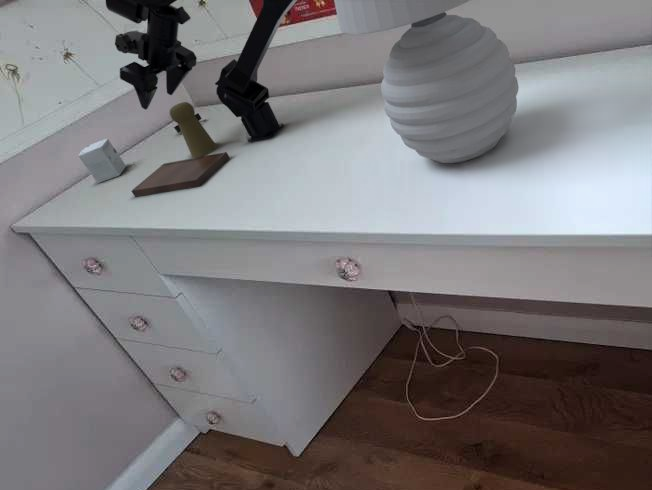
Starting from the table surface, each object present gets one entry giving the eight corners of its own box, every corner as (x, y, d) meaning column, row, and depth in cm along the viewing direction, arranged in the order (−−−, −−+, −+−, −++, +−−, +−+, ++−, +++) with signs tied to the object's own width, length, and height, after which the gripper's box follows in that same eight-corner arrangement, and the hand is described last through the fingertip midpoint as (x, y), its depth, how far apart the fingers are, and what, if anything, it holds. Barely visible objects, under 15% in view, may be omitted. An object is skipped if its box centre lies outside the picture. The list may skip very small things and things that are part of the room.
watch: (183, 135, 165) (175, 121, 162) (174, 135, 167) (166, 121, 165) (207, 121, 168) (199, 107, 166) (197, 121, 171) (190, 107, 169)
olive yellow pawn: (208, 154, 146) (181, 107, 139) (187, 159, 148) (159, 113, 141) (221, 142, 150) (195, 96, 143) (200, 147, 152) (173, 102, 145)
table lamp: (366, 177, 111) (252, -95, 86) (463, 109, 122) (387, -149, 97) (471, 196, 94) (369, -133, 69) (572, 115, 105) (515, -193, 80)
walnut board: (230, 158, 140) (226, 151, 139) (200, 186, 132) (195, 179, 131) (167, 169, 147) (163, 163, 146) (135, 197, 138) (130, 190, 137)
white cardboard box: (120, 175, 154) (100, 146, 149) (96, 184, 154) (76, 155, 149) (126, 165, 158) (108, 137, 154) (104, 174, 159) (84, 146, 154)
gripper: (153, 3, 140) (149, 70, 150) (95, 26, 126) (94, 97, 136) (201, 29, 141) (193, 93, 151) (148, 54, 127) (143, 123, 137)
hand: (157, 101), depth 144 cm, fingers open, 9 cm apart
